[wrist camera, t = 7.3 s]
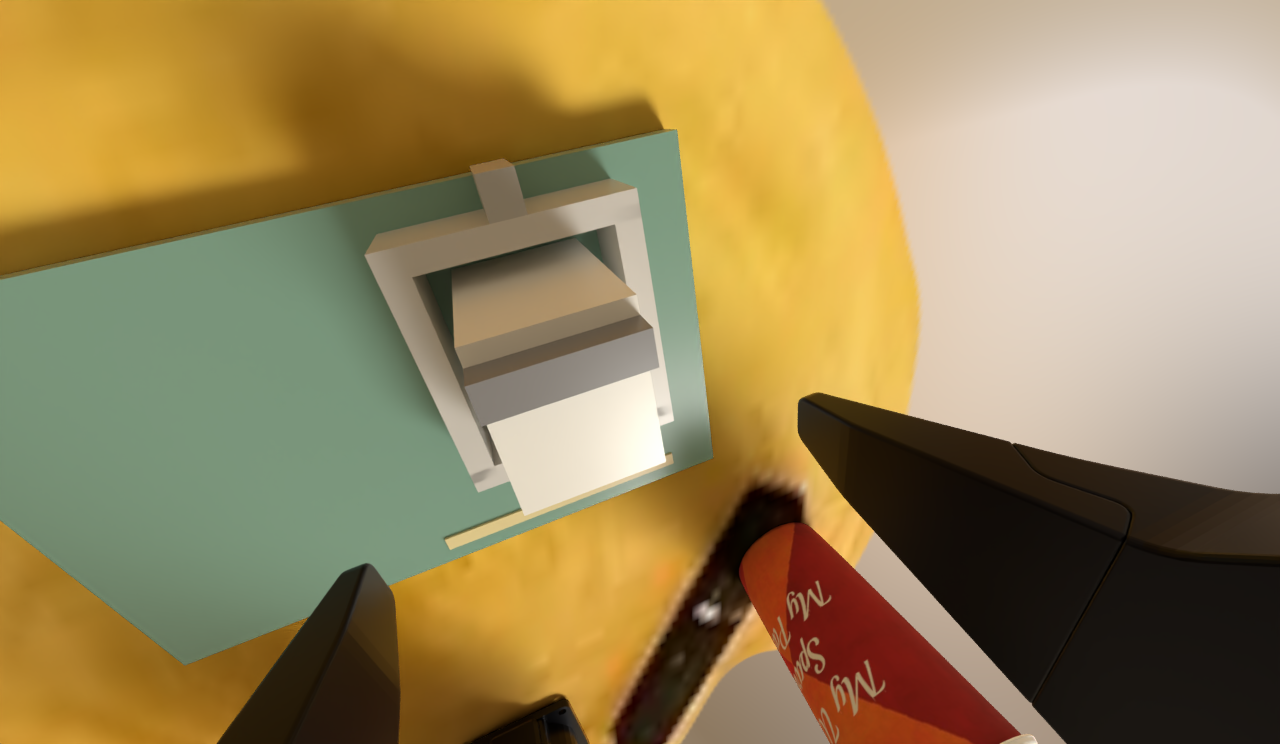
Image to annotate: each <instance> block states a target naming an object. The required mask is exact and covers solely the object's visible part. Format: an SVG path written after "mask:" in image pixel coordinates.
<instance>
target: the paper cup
mask: <svg viewBox="0 0 1280 744" xmlns="http://www.w3.org/2000/svg"><path fill="white" fill-rule="evenodd" d="M739 577H740V579H741V582H742V584H743V586H744V588H745V590H746V592H747V594H748V596H749V598H750V600H751V602H752V603H753V605H754V607H755V609H756V611H757V613H758V615H759V616H760V618H761V620H762V622H763V624H764V625H765V627H766V629H767V631H768V633H769V635H770V636H771V638H772V640H773V642H774V644H775V645H776V647H777V649H778V651H779V653H780V654H781V656H782V658H783V660H784V661H785V663H786V665H787V667H788V669H789V671H790V672H791V674H792V676H793V678H794V679H795V681H796V683H797V685H798V687H799V689H800V690H801V692H802V694H803V696H804V697H805V699H806V701H807V703H808V705H809V706H810V708H811V710H812V712H813V714H814V715H815V717H816V719H817V721H818V722H819V724H820V726H821V728H822V730H823V731H824V733H825V735H826V737H827V739H828V740H829V742H830V744H1038V743H1037V741H1036V738H1035V737H1034V736H1033V735H1031V734H1024V735H1021V734H1020V733H1019V732H1018V731H1017V730H1016V729H1015V728H1014V727H1013V726H1012V725H1011V724H1010V723H1009V722H1008V721H1007V720H1006V719H1005V718H1004V717H1003V716H1002V715H1001V714H1000V713H999V712H998V711H997V710H996V709H995V708H994V707H993V706H992V705H991V704H990V703H989V702H988V701H987V700H986V699H985V698H984V697H983V696H982V695H981V694H980V693H979V692H978V691H977V690H976V689H975V688H974V687H973V686H972V685H971V684H970V683H969V682H968V681H967V680H966V679H965V678H964V677H963V676H962V675H961V674H960V673H959V672H958V671H957V670H956V669H955V668H954V667H953V666H952V665H951V664H950V663H949V662H947V660H945V658H944V657H943V656H942V655H941V654H940V653H939V652H938V651H937V650H936V649H935V648H934V647H933V646H932V645H931V644H929V643H928V641H927V640H926V639H925V638H924V637H922V636H921V635H920V633H918V632H917V631H916V630H915V629H914V628H913V627H912V626H911V625H910V624H909V623H908V622H907V621H906V620H905V619H904V618H903V617H902V616H901V615H900V614H899V613H898V612H897V611H896V610H895V609H894V608H893V607H892V606H891V605H890V604H889V603H888V602H887V601H886V600H885V599H884V598H883V597H882V596H881V595H880V594H879V593H878V592H877V591H876V590H875V589H874V588H873V587H872V586H871V585H870V584H869V583H868V582H867V581H866V580H865V579H864V578H863V577H862V576H861V575H860V574H859V573H858V572H857V571H856V570H855V569H854V568H853V567H852V566H851V565H850V564H849V563H848V562H847V561H846V560H845V559H844V558H843V557H842V556H841V555H840V554H838V553H837V552H836V551H835V550H834V549H833V548H832V547H831V546H830V545H829V544H828V543H827V542H826V541H825V540H824V539H823V538H822V537H821V536H820V535H819V534H818V533H816V532H815V531H814V530H813V529H812V528H811V527H809V526H808V525H806V524H804V523H798V522H793V523H787V524H783V525H780V526H778V527H776V528H773V529H772V530H770V531H768V532H767V533H765V534H764V535H762V536H761V537H760V538H759V539H757V540H756V541H755V542H754V543H753V544H752V545H751V547H750V548H749V549H748V550H747V552H746V553H745V555H744V556H743V558H742V561H741V563H740V567H739Z"/></svg>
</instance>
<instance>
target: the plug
mask: <svg viewBox="0 0 1280 744" xmlns="http://www.w3.org/2000/svg"><path fill="white" fill-rule="evenodd" d="M451 275H452V299H453V324H454V348H455V350H456V353H457V355H458V358H459V360H460V362H461V365H462V367H463V374H464V387H465V389H466V392H467V394H468V396H469V399H470V401H471V403H472V406H473V408H474V410H475V413H476V415H477V417H478V420H479V422H480V425H481V427H482V426H485V425H487V427H488V430H489V432H490V434H491V437H492V439H493V442H494V444H495V446H496V449H497V451H498V454H499V456H500V458H501V461H502V463H503V466H504V468H505V470H506V473H507V475H508V478H509V480H510V482H511V485H512V487H513V490H514V492H515V494H516V497H517V499H518V502H519V504H520V506H521V509H522V511H523V514H524V516H526V515H528V514H531V513H534V512H536V511H539V510H541V509H544V508H547V507H549V506H552V505H555V504H557V503H560V502H562V501H565V500H568V499H570V498H573V497H575V496H578V495H581V494H583V493H586V492H589V491H591V490H594V489H596V488H599V487H602V486H604V485H607V484H610V483H612V482H615V481H617V480H620V479H623V478H625V477H628V476H631V475H633V474H636V473H638V472H641V471H644V470H646V469H649V468H651V467H654V466H657V465H659V464H662V463H665V462H666V458H665V453H664V447H663V441H662V436H661V430H660V424H659V418H658V413H657V407H656V401H655V396H654V390H653V384H652V379H651V373H650V370H653V369H656V368H659V361H658V355H657V349H656V343H655V336H654V330H653V327H652V326H651V325H650V324H649V323H648V322H647V321H646V320H645V319H644V318H643V317H642V316H641V315H640V310H639V305H638V299H637V294H636V293H635V292H633V291H632V290H631V289H630V288H629V287H628V286H627V285H626V284H625V283H624V282H623V281H621V280H620V279H619V278H618V277H617V276H616V275H615V274H614V273H613V272H612V271H611V270H610V269H608V268H607V267H606V266H605V265H604V264H603V263H602V262H601V261H600V260H599V259H598V258H597V257H595V256H594V255H593V254H592V253H591V252H590V251H589V250H588V249H587V248H586V247H585V246H583V245H582V244H581V243H580V242H579V241H578V240H577V239H576V238H573V239H569V240H565V241H561V242H557V243H553V244H549V245H546V246H542V247H538V248H534V249H530V250H526V251H522V252H518V253H515V254H511V255H507V256H503V257H499V258H495V259H491V260H487V261H484V262H480V263H476V264H472V265H468V266H464V267H460V268H457V269H453V270H451Z"/></svg>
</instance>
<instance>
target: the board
mask: <svg viewBox="0 0 1280 744" xmlns="http://www.w3.org/2000/svg"><path fill="white" fill-rule="evenodd" d="M469 167H470V170H471V172H468V173H463V174H459V175H454V176H450V177H445V178H441V179H436V180H431V181H427V182H422V183H418V184H413V185H409V186H404V187H400V188H395V189H391V190H386V191H382V192H377V193H372V194H368V195H363V196H359V197H354V198H350V199H345V200H341V201H336V202H332V203H327V204H323V205H318V206H314V207H309V208H304V209H300V210H295V211H291V212H286V213H282V214H277V215H273V216H268V217H264V218H259V219H255V220H250V221H245V222H241V223H236V224H232V225H227V226H223V227H218V228H214V229H209V230H205V231H200V232H196V233H191V234H186V235H182V236H177V237H173V238H168V239H164V240H159V241H155V242H150V243H146V244H141V245H137V246H132V247H128V248H123V249H118V250H114V251H109V252H105V253H100V254H96V255H91V256H87V257H82V258H78V259H73V260H69V261H64V262H59V263H55V264H50V265H46V266H41V267H37V268H32V269H28V270H23V271H19V272H14V273H10V274H5V275H1V276H0V521H2V522H3V523H4V524H5V525H7V526H8V527H9V528H11V529H12V530H13V531H14V532H16V533H17V534H18V535H19V536H21V537H22V538H23V539H25V540H26V541H27V542H28V543H30V544H31V545H32V546H33V547H35V548H36V549H37V550H39V551H40V552H41V553H42V554H44V555H45V556H46V557H47V558H49V559H50V560H51V561H53V562H54V563H55V564H56V565H58V566H59V567H60V568H61V569H63V570H64V571H65V572H66V573H68V574H69V575H70V576H72V577H73V578H74V579H75V580H77V581H78V582H79V583H80V584H82V585H83V586H84V587H86V588H87V589H88V590H89V591H91V592H92V593H93V594H94V595H96V596H97V597H98V598H100V599H101V600H102V601H103V602H105V603H106V604H107V605H108V606H110V607H111V608H112V609H114V610H115V611H116V612H117V613H119V614H120V615H121V616H122V617H124V618H125V619H126V620H128V621H129V622H130V623H131V624H133V625H134V626H135V627H136V628H138V629H139V630H140V631H142V632H143V633H144V634H145V635H147V636H148V637H149V638H150V639H152V640H153V641H154V642H156V643H157V644H158V645H159V646H161V647H162V648H163V649H164V650H166V651H167V652H168V653H170V654H171V655H172V656H173V657H175V658H176V659H177V660H178V661H180V662H181V663H182V664H183V665H187V664H190V663H193V662H195V661H198V660H200V659H203V658H205V657H208V656H210V655H213V654H215V653H218V652H221V651H223V650H226V649H228V648H231V647H233V646H236V645H238V644H241V643H244V642H246V641H249V640H251V639H254V638H256V637H259V636H261V635H264V634H266V633H269V632H272V631H274V630H277V629H279V628H282V627H284V626H287V625H289V624H292V623H294V622H297V621H300V620H302V619H305V618H307V617H309V616H310V615H311V614H312V612H313V611H314V610H315V608H316V607H317V605H318V604H319V603H320V601H321V600H322V599H323V597H324V596H325V594H326V593H327V592H328V590H329V589H330V588H331V586H332V585H333V584H334V582H335V581H336V579H337V578H338V577H339V576H340V574H341V573H342V572H344V571H346V570H348V569H351V568H353V567H356V566H359V565H361V564H364V563H370V564H372V565H373V566H374V567H375V569H376V570H377V571H378V573H379V574H380V575H381V577H382V578H383V580H384V581H385V582H386V584H387V585H388V586H389V585H391V584H394V583H396V582H399V581H401V580H404V579H407V578H409V577H412V576H414V575H417V574H419V573H422V572H424V571H427V570H429V569H432V568H435V567H437V566H440V565H442V564H445V563H447V562H450V561H452V560H455V559H458V558H460V557H463V556H465V555H468V554H470V553H473V552H475V551H478V550H480V549H483V548H486V547H488V546H491V545H493V544H496V543H498V542H501V541H503V540H506V539H508V538H511V537H514V536H516V535H519V534H521V533H524V532H526V531H529V530H531V529H534V528H536V527H539V526H542V525H544V524H547V523H549V522H552V521H554V520H557V519H559V518H562V517H565V516H567V515H570V514H572V513H575V512H577V511H580V510H582V509H585V508H587V507H590V506H593V505H595V504H598V503H600V502H603V501H605V500H608V499H610V498H613V497H615V496H618V495H621V494H623V493H626V492H628V491H631V490H633V489H636V488H638V487H641V486H643V485H646V484H649V483H651V482H654V481H656V480H659V479H661V478H664V477H666V476H669V475H672V474H674V473H677V472H679V471H682V470H684V469H687V468H689V467H692V466H694V465H697V464H700V463H702V462H705V461H707V460H710V459H712V458H713V450H712V441H711V432H710V423H709V414H708V405H707V396H706V387H705V378H704V369H703V360H702V351H701V342H700V333H699V324H698V315H697V306H696V297H695V288H694V278H693V269H692V260H691V251H690V242H689V233H688V224H687V215H686V206H685V197H684V188H683V179H682V170H681V161H680V152H679V143H678V134H677V130H674V129H663V130H658V131H654V132H649V133H645V134H640V135H636V136H631V137H627V138H622V139H617V140H613V141H608V142H604V143H599V144H595V145H590V146H586V147H581V148H577V149H572V150H568V151H563V152H558V153H554V154H549V155H545V156H540V157H536V158H531V159H527V160H522V161H518V162H513V163H510V162H508V161H507V160H505V159H504V158H503V159H499V160H494V161H489V162H485V163H480V164H476V165H471V166H469ZM573 238H576V239H577V240H578V241H579V242H580V243H581V244H582V245H583V246H585V247H586V248H587V249H588V250H589V251H590V252H591V253H592V254H593V255H594V256H595V257H597V258H598V259H599V260H600V261H601V262H602V263H603V264H604V265H605V266H606V267H607V268H608V269H610V270H611V271H612V272H613V273H614V274H615V275H616V276H617V277H618V278H619V279H620V280H621V281H623V282H624V283H625V284H626V285H627V286H628V287H629V288H630V289H631V290H632V291H633V292H635V293H636V294H637V299H638V305H639V310H640V315H641V316H642V317H643V318H644V319H645V320H646V321H647V322H648V323H649V324H650V325H651V326H652V327H653V330H654V336H655V343H656V349H657V355H658V361H659V368H656V369H653V370H650V373H651V379H652V384H653V390H654V396H655V401H656V407H657V413H658V418H659V424H660V430H661V436H662V441H663V447H664V453H665V458H666V462H665V463H662V464H659V465H657V466H654V467H651V468H649V469H646V470H644V471H641V472H638V473H636V474H633V475H631V476H628V477H625V478H623V479H620V480H617V481H615V482H612V483H610V484H607V485H604V486H602V487H599V488H596V489H594V490H591V491H589V492H586V493H583V494H581V495H578V496H575V497H573V498H570V499H568V500H565V501H562V502H560V503H557V504H555V505H552V506H549V507H547V508H544V509H541V510H539V511H536V512H534V513H531V514H528V515H526V516H524V514H523V511H522V509H521V506H520V504H519V502H518V499H517V497H516V494H515V492H514V490H513V487H512V485H511V482H510V480H509V478H508V475H507V473H506V470H505V468H504V466H503V463H502V461H501V458H500V456H499V454H498V451H497V449H496V446H495V444H494V442H493V439H492V437H491V434H490V432H489V430H488V427H487V425H485V426H482V427H481V425H480V422H479V420H478V417H477V415H476V413H475V410H474V408H473V406H472V403H471V401H470V399H469V396H468V394H467V392H466V389H465V387H464V374H463V367H462V365H461V362H460V360H459V358H458V355H457V353H456V350H455V348H454V324H453V299H452V275H451V270H453V269H457V268H460V267H464V266H468V265H472V264H476V263H480V262H484V261H487V260H491V259H495V258H499V257H503V256H507V255H511V254H515V253H518V252H522V251H526V250H530V249H534V248H538V247H542V246H546V245H549V244H553V243H557V242H561V241H565V240H569V239H573Z"/></svg>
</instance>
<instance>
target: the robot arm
mask: <svg viewBox="0 0 1280 744" xmlns="http://www.w3.org/2000/svg"><path fill="white" fill-rule="evenodd" d="M798 433H799V436H800V438H801V440H802V442H803V443H804V444H805V446H806V447H807V448H808V450H809V451H810V452H811V454H812V455H813V457H814V458H815V459H816V461H817V462H818V463H819V465H820V466H821V467H822V469H823V470H824V472H825V473H826V474H827V476H828V477H829V478H830V480H831V481H832V482H833V484H834V485H835V487H836V488H837V489H838V490H839V492H840V493H841V494H842V496H843V497H844V498H845V499H846V500H847V501H848V503H849V504H850V505H851V506H852V507H853V508H854V509H855V510H856V512H857V513H858V514H859V515H860V516H861V517H862V518H863V519H864V520H865V522H866V523H867V524H868V525H869V526H870V527H871V528H872V529H873V530H874V531H875V533H876V534H877V535H878V536H879V537H880V538H881V539H882V540H883V541H884V542H885V544H886V545H887V546H888V547H889V548H890V549H891V550H892V551H893V552H894V553H895V555H897V557H898V558H899V559H900V560H901V561H902V562H903V563H904V565H906V567H907V568H908V569H909V570H910V571H911V572H912V573H913V574H914V576H915V577H916V578H917V579H918V580H919V581H920V582H921V583H922V584H923V585H924V587H925V588H926V589H927V590H928V591H929V592H930V593H931V594H932V595H933V596H934V598H935V599H936V600H937V601H938V602H939V603H940V604H941V605H942V606H943V607H944V608H945V610H946V611H947V612H948V613H949V614H950V615H951V616H952V617H953V619H954V620H955V621H956V622H957V623H958V624H959V625H960V626H961V627H962V628H963V630H964V631H965V632H966V633H967V634H968V635H969V636H970V637H971V638H972V639H973V641H974V642H975V643H976V644H977V645H978V646H979V647H980V648H981V649H982V651H983V652H984V653H985V654H986V655H987V656H988V657H989V658H990V659H991V660H992V661H993V663H994V664H995V665H996V666H997V667H998V668H999V669H1000V670H1001V671H1002V673H1003V674H1004V675H1005V676H1006V677H1007V678H1008V679H1009V680H1010V681H1011V682H1012V684H1013V685H1014V686H1015V687H1016V688H1017V689H1018V690H1019V691H1020V692H1021V693H1022V695H1023V696H1024V697H1025V698H1026V699H1027V700H1028V701H1029V702H1031V703H1032V706H1033V707H1034V708H1035V709H1036V710H1037V712H1038V713H1039V714H1040V715H1041V716H1042V717H1043V718H1044V719H1045V720H1046V722H1047V723H1048V724H1049V725H1050V726H1051V727H1052V728H1053V729H1054V730H1055V731H1056V733H1057V734H1058V735H1059V736H1060V737H1061V738H1062V739H1063V740H1064V741H1065V742H1066V744H1280V494H1265V493H1250V492H1241V491H1233V490H1227V489H1222V488H1217V487H1212V486H1206V485H1202V484H1197V483H1192V482H1187V481H1182V480H1177V479H1172V478H1168V477H1163V476H1157V475H1153V474H1148V473H1143V472H1138V471H1133V470H1128V469H1124V468H1119V467H1114V466H1109V465H1105V464H1100V463H1095V462H1091V461H1086V460H1082V459H1077V458H1073V457H1069V456H1065V455H1060V454H1056V453H1052V452H1048V451H1044V450H1040V449H1036V448H1032V447H1028V446H1025V445H1021V444H1017V443H1014V444H1011V443H1010V442H1009V441H1005V440H1001V439H997V438H993V437H989V436H986V435H982V434H978V433H974V432H970V431H966V430H962V429H959V428H954V427H951V426H947V425H942V424H939V423H935V422H931V421H928V420H924V419H920V418H916V417H912V416H908V415H904V414H901V413H897V412H893V411H889V410H885V409H881V408H877V407H873V406H870V405H866V404H862V403H858V402H854V401H850V400H846V399H843V398H839V397H835V396H831V395H827V394H823V393H813V394H810V395H808V396H805V397H803V398H801V399H800V400H799V402H798ZM400 694H401V691H400V670H399V654H398V639H397V624H396V608H395V600H394V596H393V593H392V591H391V589H390V588H389V586H388V585H387V584H386V582H385V581H384V580H383V578H382V577H381V575H380V574H379V573H378V571H377V570H376V569H375V567H374V566H373V565H372V564H370V563H364V564H361V565H359V566H356V567H353V568H351V569H348V570H346V571H344V572H342V573H341V574H340V576H339V577H338V578H337V579H336V581H335V582H334V584H333V585H332V586H331V588H330V589H329V590H328V592H327V593H326V594H325V596H324V597H323V599H322V600H321V601H320V603H319V604H318V605H317V607H316V608H315V610H314V611H313V612H312V614H311V615H310V616H309V618H308V619H307V621H306V622H305V623H304V625H303V626H302V627H301V629H300V630H299V631H298V633H297V634H296V636H295V637H294V638H293V640H292V641H291V642H290V644H289V645H288V647H287V648H286V649H285V651H284V652H283V653H282V655H281V656H280V658H279V659H278V660H277V662H276V663H275V664H274V666H273V667H272V668H271V670H270V671H269V673H268V674H267V675H266V677H265V678H264V679H263V681H262V682H261V684H260V685H259V686H258V688H257V689H256V690H255V692H254V693H253V695H252V696H251V697H250V699H249V700H248V701H247V703H246V704H245V705H244V707H243V708H242V710H241V711H240V712H239V714H238V715H237V716H236V718H235V719H234V721H233V722H232V723H231V725H230V726H229V727H228V729H227V730H226V732H225V733H224V734H223V736H222V737H221V738H220V740H219V741H218V742H217V744H398V741H399V721H400ZM470 744H589V740H588V738H587V736H586V734H585V732H584V730H583V728H582V726H581V724H580V722H579V720H578V718H577V716H576V714H575V712H574V710H573V708H572V706H571V704H570V702H569V701H568V700H561V701H558V702H556V703H554V704H552V705H550V706H548V707H546V708H543V709H541V710H539V711H537V712H535V713H533V714H531V715H529V716H527V717H525V718H523V719H520V720H518V721H516V722H514V723H512V724H510V725H508V726H506V727H504V728H502V729H500V730H497V731H495V732H493V733H491V734H489V735H487V736H485V737H483V738H481V739H479V740H477V741H474V742H472V743H470Z"/></svg>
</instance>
